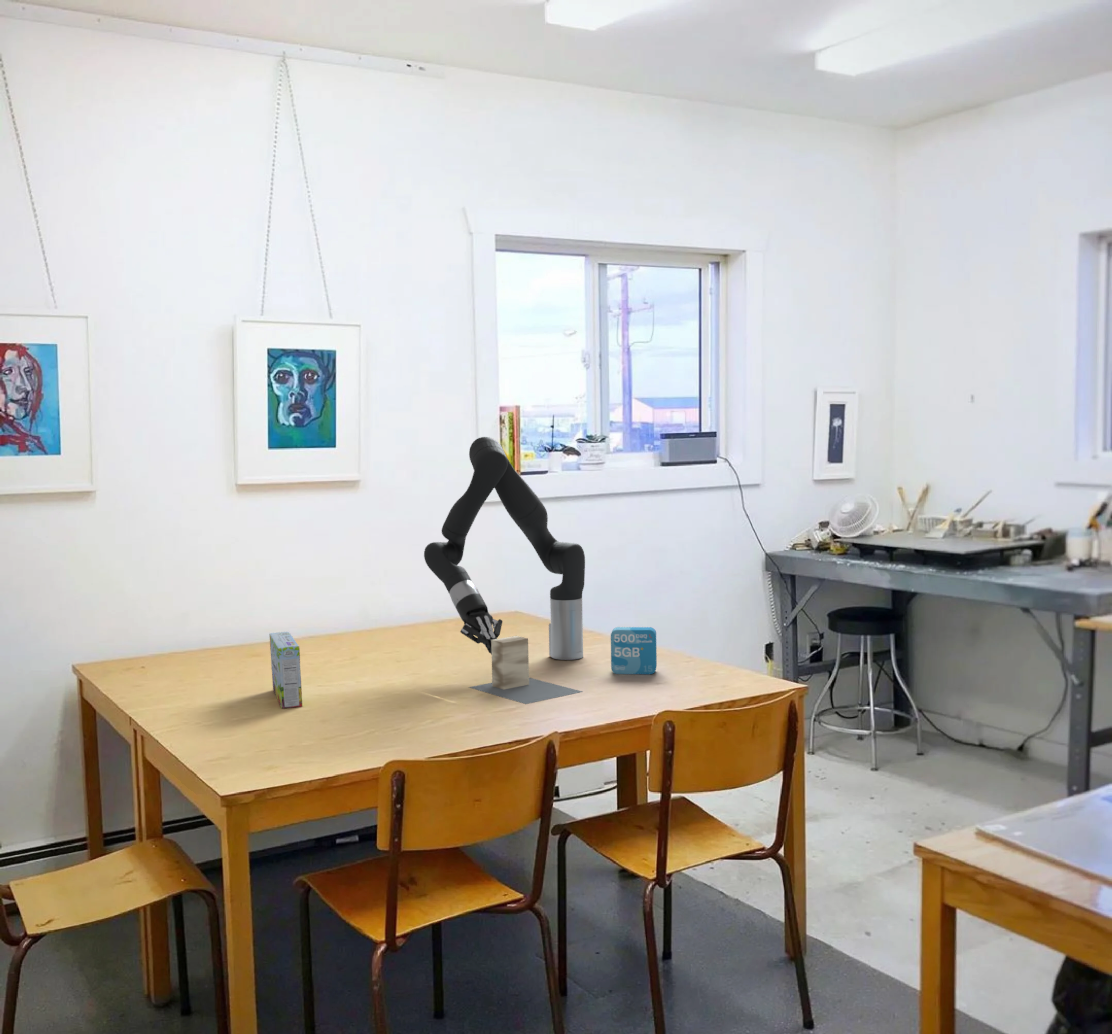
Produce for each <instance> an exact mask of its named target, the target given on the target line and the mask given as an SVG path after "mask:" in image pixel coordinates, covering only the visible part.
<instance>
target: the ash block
mask: <svg viewBox="0 0 1112 1034" xmlns="http://www.w3.org/2000/svg"><path fill="white" fill-rule="evenodd" d="M491 649H492V655H491V677H492V679H491V683H492V686H493V687H497V688H500V689H504V690H505V689H509V688H514V687H519V686H524V685H529V678H530V672H529V671H530V663H529V660H530V659H529V638H528V637H525V636H524V637H523V636H520V635H519V636H518V635H513V636H508V637H501V638H497V639H494V640H491Z"/></svg>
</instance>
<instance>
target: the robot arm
mask: <svg viewBox="0 0 1112 1034" xmlns="http://www.w3.org/2000/svg"><path fill="white" fill-rule="evenodd" d="M468 455H469V461H470V464H471V466H472V467H473V468H472V469H473V474H472V477H471V480H470V483H469V486H468V487H467V489H466V491H465V492H464V493H463V495H462V496H460V498H458V499H457V500H456V502H455V503H454V504H453V505H452V507H451V508H450V511H449V512H448V514H447V516H446V518H445V520H444V522H443V525H442V528H441V535H442V536H443V538H445V539H446V540H447V541H446V542H445V541H442V542H441V541H440V542H439V541H435V542H434V541H433V542H430V543H428V544H427V545H426V546H425V548H424V551H423V552H424V553H423V558H424V561H425V564H426V565H427V567H428V569H429V570H430V571H431V572H432V573H433V574H434V575H435V576H436V577H437V578H438V579H439V580H440V581H441V582H442V583H443V585H444V587H445V589H446V590H447V592H448V594H449V596H450V597H449V598H450V600H451V601H452V602H451V603H452V604H453V606H454V607H455V609H456V611H457V613H458V615H459V617H460V619H461V621H462V622H463V626H462V628H461V629H460V634H462V635H464V636H465V637H467V638H468V639H470V640H471V641H472V642H474V643H476V644H478V645H479V644H480V643H481V644H483V645H484V646H485V648H486V649H487V651H488V653H489V654H490V655H491V656H492V649H491V640H494V639H499V638H498V637H500V636H501V635H500V634H501V630H502V626H503V620H502V619H501V618H500V619H498V620H496V619H495V618H494V617H493V615H492V614H490V612H489V610H488V605H487V604H486V602H485V601H484V599H483V597H482V595H481V593H480V591H479V589H478V587H476V585H475V584H474V582H473V581H472V579H471V577H470V575H469V573H468V572H467V570H466V569H465V568H464V567H463V566H461V565H459V564H460V563H461V561H463V560H462V559H463V557H464V551H465V545H466V538H467V536H468V534H469V531H470V529H471V528H472V526H473V524H474V522H475V520H476V517H477V516H478V514H479V513H480V510H481V508H482V507H483V505H484V504H485V502H486V500H487V499H489V496H490V495H491V493H492V491H493V490H494V489H495V491H496V493H497V495H498V497H499V499H500V502H501V503H502V505H503V507H504V508H505V510H506V512H507V513H508V515H509V516H510V518H511V519H512V520H513V522H514V523H515V524H516V525H517V527H518V528H519V529H520V530H521V532H522V533H523V534H524V536H525V537H526V539H527V540H528V541H529V543H530V544H531V545H532V547H533V548H534V550H535V552H536V554H537V556H538V558H539V559H540V561H541V563H542V564H543V566H544V568H545V569H547V571H549V572H550V573H553V574H556V575H562V577H561V583H559V584H558V585H556V586H554V587H552V588H550V590H549V595H550V596H549V598H550V600H549V603H550V605H549V608H550V623H548V650H549V651H548V653H549V656H548V657H551V658H552V659H554V660H559V661H561V660H562V661H565V660H566V661H571V660H579V659H582V658H583V657H584V639H583V638H584V631H583V630H584V627H583V626H584V623H583V620H584V618H583V591H584V588H585V574H586V572H585V571H586V557H585V551H584V548H583V547H582V546H581V544H579V543H575V542H564V541H562V542H561V541H559V540H557V539H556V538H555V537H554V536H553V535H552V534H551V532H550V531H549V529H548V521H549V520H548V519H549V517H548V511H547V508H546V507H545V505H544V504H543V502H542V501H541V499H540V498H539V497H538V496H537V494H536V493H535V492H534V491H533V489H532V488H531V487H530V486H529V484H528V483H527V482H526V481H525V479H523V478H522V476H521V475H520V474H519V473H518V472H517V470H515V468H514V467H513V465H512V464H511V461H509V458H508V456H507V455H506V453H505V451H504V448H503V446H502V445H501V443H499V441H497V440H496V439H494V438H492V437H490V436H489V437H488V436H480V437H478V438H476V439H475V440H474V441H473V442H472V443H471V445H470V447H469V454H468Z"/></svg>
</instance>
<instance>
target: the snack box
mask: <svg viewBox="0 0 1112 1034" xmlns="http://www.w3.org/2000/svg"><path fill="white" fill-rule="evenodd" d="M269 648H270V663H271V664H270V665H271V676H272V678H271V679H272V681H271V682H272V690H273V692H274V695H275V697H276V699H277V702H278V704H279V706H280V708H281V709H282V710H283V709H292V708H299V707H300V708H301V707H303V693H302V691H303V690H302V674H301V671H302V670H301V655H300V653H301V652H300V645H299V644H298V643H297V641H296V640H295V638H294V637H293V636H292V634H291V633H290V631H281V632H280V631H279V632H271V633H270V632H269Z"/></svg>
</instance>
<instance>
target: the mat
mask: <svg viewBox="0 0 1112 1034" xmlns="http://www.w3.org/2000/svg"><path fill="white" fill-rule="evenodd" d="M468 688H470V689H473V690H476V691H480V692H482V693H487V694H491V695H494V696H496V697H500V698H502V699H503V698H504V699H507V700H510V701H513V702H514V701H515V702H518V703H521V704H525V705H528V704H535V703H538V702H543V701H547V700H553V699H556V698H560V697H565V696H569V695H574V694H575V695H576V694H580V693H583V692H584V691H583V690H578V689H575V688H570V687H567V686H562V685H558V684H555V683H551V682H547V681H543V680H540V679H536V678H532V677H529V685H524V686H519V687H514V688H509V689H505V690H504V689H500V688H497V687H493V686H492V682H489V683H483V684H478V685H473V686H469V687H468Z"/></svg>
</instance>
